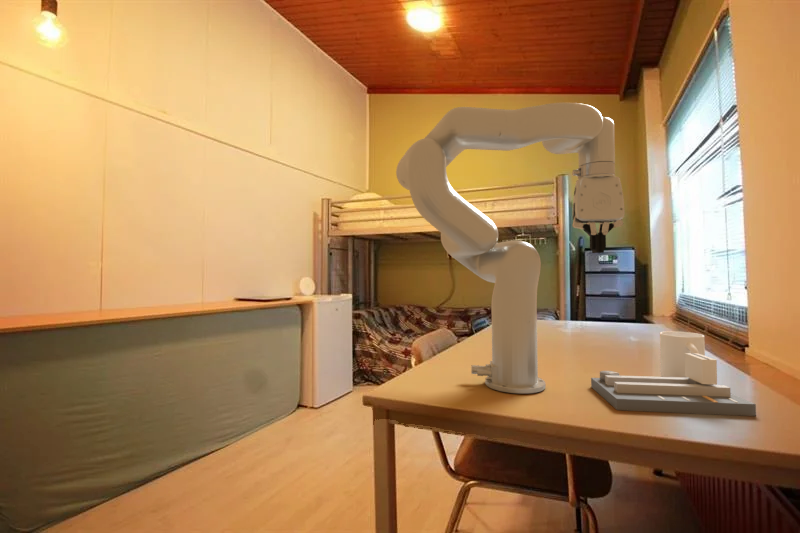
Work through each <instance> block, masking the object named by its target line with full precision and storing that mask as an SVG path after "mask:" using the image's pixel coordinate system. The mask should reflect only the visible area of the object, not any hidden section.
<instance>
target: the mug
mask: <svg viewBox="0 0 800 533" xmlns="http://www.w3.org/2000/svg"><path fill="white" fill-rule="evenodd" d="M705 344H706V343H705V335H704V334H701V333H697V332H689V331H688V332H687V331H674V330H673V331H670V330H669V331H666V330H665V331H660V332H659V364H660V365H659V366H660V367H659V368H660V370H659V372H660V377H684V378H688V377H686V376H685V353H698V354H701V355H704V356H706V353H705V352H706V351H705V350H706V348H705V347H706V346H705Z"/></svg>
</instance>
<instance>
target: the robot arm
mask: <svg viewBox="0 0 800 533" xmlns="http://www.w3.org/2000/svg"><path fill="white" fill-rule="evenodd" d="M615 139H616V138H615V123H614V120H613V119H612V118H610V117H607V116H602V113H601V112H600V111H599V110H598V109H597V108H595V107H594V106H592V105H589V104H584V103H577V102H553V103H545V104H541V105H539V104H538V105H534V106H527V107H522V108H516V109H504V108H503V109H502V108H487V107H472V106H459V107H458V106H457V107H454V108H452V109H450V110H448V112H446V113H445V114H444V115H443V117H441V118H440V120H439V122H438V123H436V125H435V126H434V127H433V129H431V130H430V132H429V133H428V134H427V135H426V136H425V137H423V138H421V139H419V140H417V141H415V142H414V143H412V145H411V146H410V147H409V148H408V149H407V151H406V152H405V153H404V155H402V157H401V158H400V159H399V162H398V163H397V166H396V171H395V173H396V174H395V175H396V178H397V180H398V184H400V186H402V187H403V188H404V189H406V190H407V191H408V190H409V194H410V198H411V200H412V203H413V205H414V207H415V209H416V211H417V212H418V214H420V216H421V217H422V218H423V219H424V220H425V221H426V222H428V223H429V224H430V225H431V226H432V227H433V228H435V230H437V231H438V232H439V233H440V242H441V245H442V247H443V248H444V250H445V251H446V253H447V254H448V255H450V256H451V257H452V258H453V259H455V260H456V261H457V262H458V263H460V264H461V265H462V266H463V267H465V268H466V269H468V270H469V271H470V272H472V273H473V274H474V275H476V276H478V277H479V278H480V279H482V280H484V281H486V282H488V283H493V284H494V286H493V289H492V295H491V306H490V308H491V353H492V354H491V359H492V360H489V364H485V365H479V364H478V365H476V364H472V365H471V367H470V368H471V375H476V376H477V377H483V376H485V379H484V383H485V385H486V386H487V387H488V388H490V389H492V390H494V391H495V390H496V391H498V392H503V393H509V394H523V395H524V394H525V395H526V394H536V393H540V392H543V391H544V390H545V389H546V381H545V380H544V379H542V378H540V377H539V374H538V373H539V372H538V371H539V369H538V368H539V367H538V365H539V364H538V361H539V360H538V312H537V311H538V308H537V307H538V306H537V304H538V303H537V300H538V299H537V298H538V287H539V279H540V276H541V265H542V264H541V257H540V254H539V252H538V250H537V249H536V248H535V247H534V246H533V245H532V244H531V243H529V242H526V241H523V240H520V239H519V240H518V239H517V240H516V239H515V240H514V239H513V240H506V241H501V242H498V240H499V230H498V227H497V225H496V223H494V221H493V220H492V219H490V217H488V216H487V215H486V214H485V213H483V212H482V211H480V210H479V209H478V208H476V206H474V205H473V204H471V203H470V202H469V201H468V200H466V199H465V198H463V197H462V196H461V195H460V194H459V193H458V192H457V191H456V190H455V189H454V188H453V186H452V185H451V184H450V181H449V177H448V175H447V174H448V173H447V167H448V166H449V165H450V164H451V163H452V162H453V161H454V160H455V159H456V158H457V157H458V155H460V154H461V153H463V152H464V151H465V150H480V151H482V150H484V151H503V152H504V151H506V152H508V151H513V150H514V151H515V150H519V149H521V148H525V147H527V146H530V145H534V144H537V143H541V144H542V146H543V147H544V150H546V151H547V152H549V153H550V154H554V155H565V154H578V168H576V169H573V170H572V172H571V173H572V177H574V176H576V177H577V180H576V181H575V184H574V190H573V191H574V192H573V198H572V201H573V202H572V220H573V221H572V228H574V229H578V230H579V229H580V230H582V231H584V232H585V233H586V234H587V236H589V249H590V250H591V253H592V254H601V253H602V254H603V253H604V252H605V250H606V249H607V238H606V236H607V235H608V233H610V231H611V230H612V229H615V228H619V227H623V225H624V221H623V219H624V218H625V200H624V193H623V187H622V182H621V178H620V177H619V176H616V153H615V152H616V149H615V148H616V146H615V145H616V144H615V142H616V141H615ZM596 224H599V225H598V231H597V226H596Z"/></svg>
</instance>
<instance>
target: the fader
mask: <svg viewBox="0 0 800 533" xmlns="http://www.w3.org/2000/svg"><path fill="white" fill-rule="evenodd" d="M717 361H718V360H717V359H715V358H712V357H709V356H707V355H705V356H704V355H701V354H698V353H685V376H686V377H688V384H700V385H718V364H717Z"/></svg>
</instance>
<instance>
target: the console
mask: <svg viewBox="0 0 800 533" xmlns="http://www.w3.org/2000/svg"><path fill="white" fill-rule="evenodd" d="M590 382H591V384H590V388H592V389H593V390H594V391H595V392H596V393H597V394H598V395H599V396H601V398H603V399H604V400H605V401H606V402H607V403H608V404H610V405H611V406H612V407H613V408H614V409H615V410H616V411H628V412H629V411H630V412H631V411H632V412H633V411H634V412H650V413H652V412H653V413H654V412H655V413H656V412H657V413H676V414H677V413H679V414H680V413H681V414H683V413H684V414H699V415H700V414H701V415H721V416H722V415H725V416H747V417H748V416H750V417H756V416H757V405H756V403H754V402H752V401H749V400H747V399H745V398H743V397H741V396H739V395H736V394H734V393H732V392H731V387H729V386H728V385H724V384H721V385H720V384H717V385H700V384H688V378H684V377H662V376H651V375H650V376H646V375H645V376H644V375H643V376H642V375H641V376H640V375H620V373H619V372H616V371H612V370H601V371H599V377H591V378H590Z"/></svg>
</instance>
